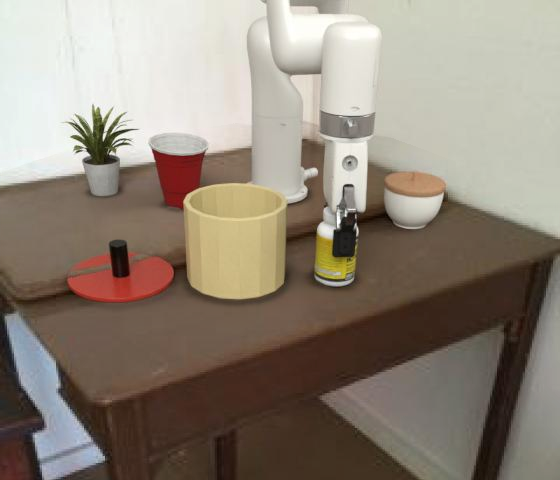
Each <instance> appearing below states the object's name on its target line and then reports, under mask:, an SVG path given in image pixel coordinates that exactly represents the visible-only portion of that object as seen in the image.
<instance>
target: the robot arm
mask: <svg viewBox="0 0 560 480" xmlns="http://www.w3.org/2000/svg"><path fill="white" fill-rule="evenodd" d="M260 1H261V2H262V3H264V4H265V5H266V15H265V16H262V17H259V18H257V19H255V20H254V21H252V23H251V24H250V25H249V27H248V29H247V32H246V50H247V57H248V65H249V72H250V73H249V74H250V85H251V87H250V89H251V170H250V171H251V175H250V176H251V177H250V178H251V179H250V181H247V183H246V184H254V185H259V186H264V187H268V188H271V189H273V190H276V191H278V192H280V193H282V194H283V195H284V196H285V198H286V199H287V200H288V202H287V205H290V204H294V203H295V204H296V203H298V202H301V201H303V200H304V199H306V198H307V196H308V190H309V189H308V187H307V186H306V185H305V182H306V181H307V180H309V179H313V178H317V177H318V175H319V171H318V168H316V167H310V168H307V169H305V168H304V167H303V166H302V147H303V146H302V145H303V144H302V143H303V121H304V100H303V97H302V94H301V92H300V91H299V90H298V88H297V87H296V85H294V83H293V81H292V79H291V77H292V76H307V75H309V76H311V75H320V88H319V89H320V92H319V110H318V132H317V135H318V136H319V137H320V138H322V139H323V140H325V141H324V157H323V158H324V159H323V177H322V178H323V179H322V180H323V181H322V190H323V196H324V205H323V209H324V208H325V207H327V206H329V208H330V210H331V211H332V212H333V213H335V220H336V229H334V230H333V245H332V255H333V257H354V255H355V246H356V234H357V227H358V226H357V225H358V224H357V212H358V213H359V214H363V213H365V212H366V208H367V207H366V206H367V188H368V187H367V186H368V166H369V165H368V163H369V159H368V157H369V153H368V151H369V149H368V141H370V140H372V139H373V138H374V132H375V123H376V113H377V111H376V110H377V99H378V87H379V77H380V67H381V58H382V45H383V36H382V31H381V29H380V27H378V26H377V25H375V24H374V23H370V22H369V20H368V18H366V17H364V16H362V15H360V14H356V13H355V14H354V13H349V0H260ZM291 7H315V8H317V12H318V13H293V12H292V9H291ZM339 207H345V208H339ZM340 215H345V217H343V218H342V219H340ZM322 220H323V219H322ZM323 221H324V220H323ZM323 221H322V222H323Z"/></svg>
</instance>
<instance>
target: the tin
mask: <svg viewBox="0 0 560 480" xmlns="http://www.w3.org/2000/svg"><path fill="white" fill-rule="evenodd" d="M287 202H288V200H287V199H286V198H285V196H284V195H283V194H282V193H280V192H278V191H276V190H273V189H271V188H268V187H264V186H259V185H254V184H247V183H241V182H228V183H216V184H211V185H207V186H202V187H199V188H198V189H196V190H194V191H193V192H191V193H189V194H187V196H186V197H185V199H184V201H183V205H184V210H183V222H184V240H185V259H186V260H185V261H186V277H187V278H186V279H187V280H188V282H189V284H190V286H191V288H193V289H195V290H196V291H198V292H200V293H201V294H203V295H207V296H211V297H214V298H217V299H226V300H227V299H228V300H229V299H230V300H246V299H254V298H259V297H263V296H266V295H268V294H271V293H273V292H274V293H275V292H276V291H277V290H278V289H279V288H280V287H281V286H282V285H284V283H285V278H286V261H287V260H286V256H287V230H288V229H287V228H288V204H287Z"/></svg>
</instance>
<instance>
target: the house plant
mask: <svg viewBox="0 0 560 480" xmlns="http://www.w3.org/2000/svg"><path fill="white" fill-rule="evenodd" d="M91 105H92V106H91V117H92V129H91V126H90V125H89V123H88V121H87V120H86V119H85V118H84V117H82V116H81V115H78V114H76V113H74V116H75V117H76V118H77V120H78V122H79V124H78V123H77V122H76V120H74V119H73V118H70V120H71V122H70V121H67V120H65V121H64V122H63V121H62V122H61V124H63V123H66V124H68V125H70V126H71V127H72V128H73V129H74V130H75V131H77V133H78V134H80V135H78V134H72V135H70V136H69V138H71V139H73V140H75V141H78V142H79V143H81V144H83V146H82V145H77V144H76V145H74V147H73V150H72V152H74V156H75V155H76V154H78V153H82V152H86V153H88V156H85V157H83V158H82V160H81V163H82V166H83V170H84V173H85V177H86V180H87V183H88V187H89V190H90V193H91V194H92V195H93V196H98V197H110V196H113V195H116V194H117V193H119V183H120V169H121V167H120V166H121V158H120V157H119V156H117V149H118V148H119V147H123V146H131V147H133V144H131V143H133V141H132V139H131V138H127V137H124V138H123V137H122V138H118V139H116V138H117V137H119V136H120V135H122V134H125V133H128V132H131V131H139V130H140V128H125V129H124V128H123V129H120V130H118V129H119V128H120V127H123V126H126V124H122V123H126V122H131V121H132V119H127V120H126V119H125V120H122V121H121V122H120V120H121V118H122V117H123V116H125V115H126V114H127V113H128V111H125V112H123V113H120V114H119V115H118V116H117V117H116V118H115V119H114V120H113V121H112V123H111V124H110V125H109V127H108V129H107V130H106V131H105V128H106V126H107V123H108V120H109V118H110V115H111V113H112V112H113V110H114V106H112V107H111V108H110V109H109V110H108V112H107V113H106V115H105V116H104V118H103V116H102V113H101V108H100V106H97V108H96V109H95V105H94V104H91ZM80 125H81V126H82V127H81V126H80ZM104 134H105V137H104ZM115 139H116V140H115ZM128 141H129V142H128ZM118 142H119V143H118ZM130 142H131V143H130ZM110 153H111V154H110Z"/></svg>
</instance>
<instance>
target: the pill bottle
mask: <svg viewBox="0 0 560 480" xmlns="http://www.w3.org/2000/svg"><path fill="white" fill-rule="evenodd" d="M339 208H345V207H339ZM343 217H345V215H340V219H342V218H343ZM322 220H324V221H321V222H320V223H319V224H318V225H317V228H316V239H315V257H314V271H313V272H314V273H313V275H314V279H315V280H316V281H317V282H319V283H321V284H322V285H325V286H327V287H328V286H329V287H333V288H334V287H336V288H338V287H344V286H345V287H346V286H348V285H350V284H351V283H352V282H354V279H355V273H356V263H357V252H358V243H359V235H360V234H359V227H358V226H357V234H356V246H355V255H354V257H333V255H332V245H333V230H334V229H336V220H335V213H333V212H332V211H331V210H330V208H329V206H327V207H325V208H324V207H323V211H322Z"/></svg>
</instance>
